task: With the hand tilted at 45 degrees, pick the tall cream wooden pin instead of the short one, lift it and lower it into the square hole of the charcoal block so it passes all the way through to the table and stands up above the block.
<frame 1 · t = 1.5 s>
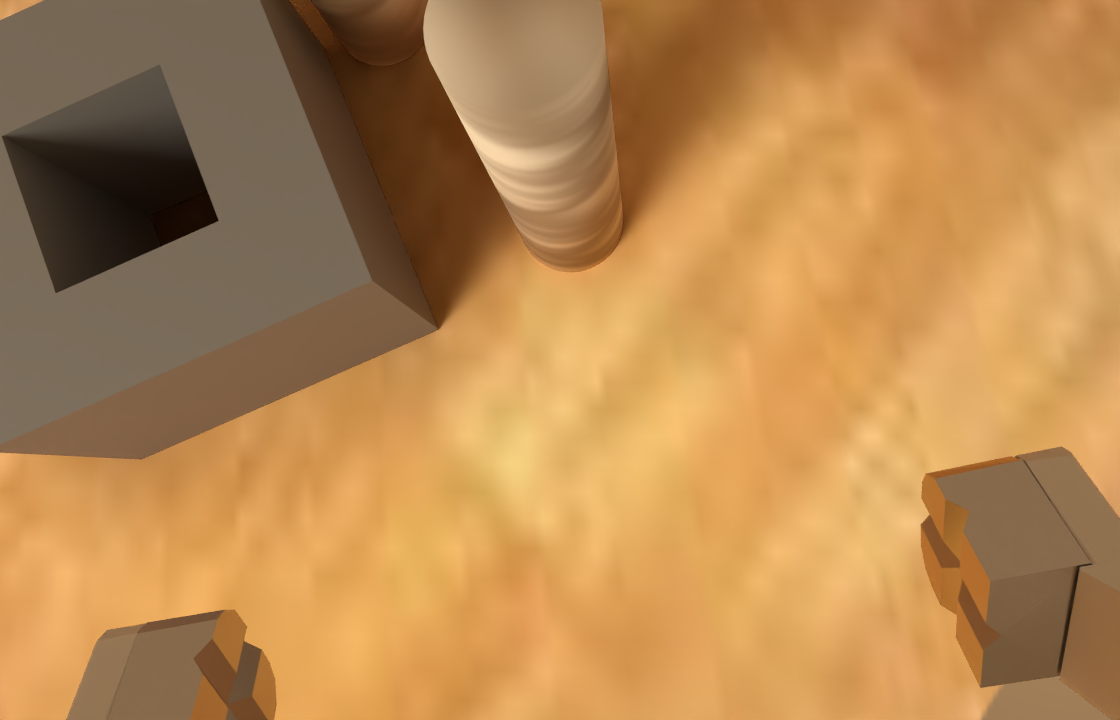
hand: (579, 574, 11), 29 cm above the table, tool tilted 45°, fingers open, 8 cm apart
tall pin: (571, 221, 41), on the table
hole block: (233, 248, 43), on the table
short pin: (384, 18, 43), on the table
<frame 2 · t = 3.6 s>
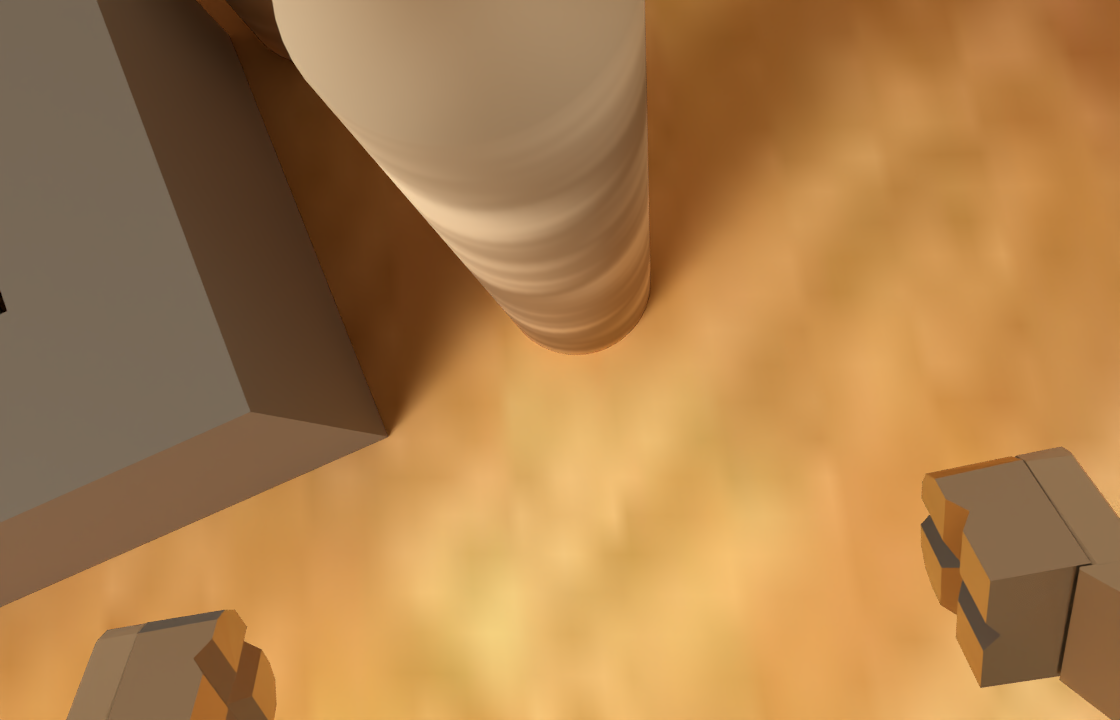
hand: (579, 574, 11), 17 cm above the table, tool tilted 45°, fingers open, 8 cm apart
tall pin: (576, 282, 29), on the table
hole block: (102, 320, 30), on the table
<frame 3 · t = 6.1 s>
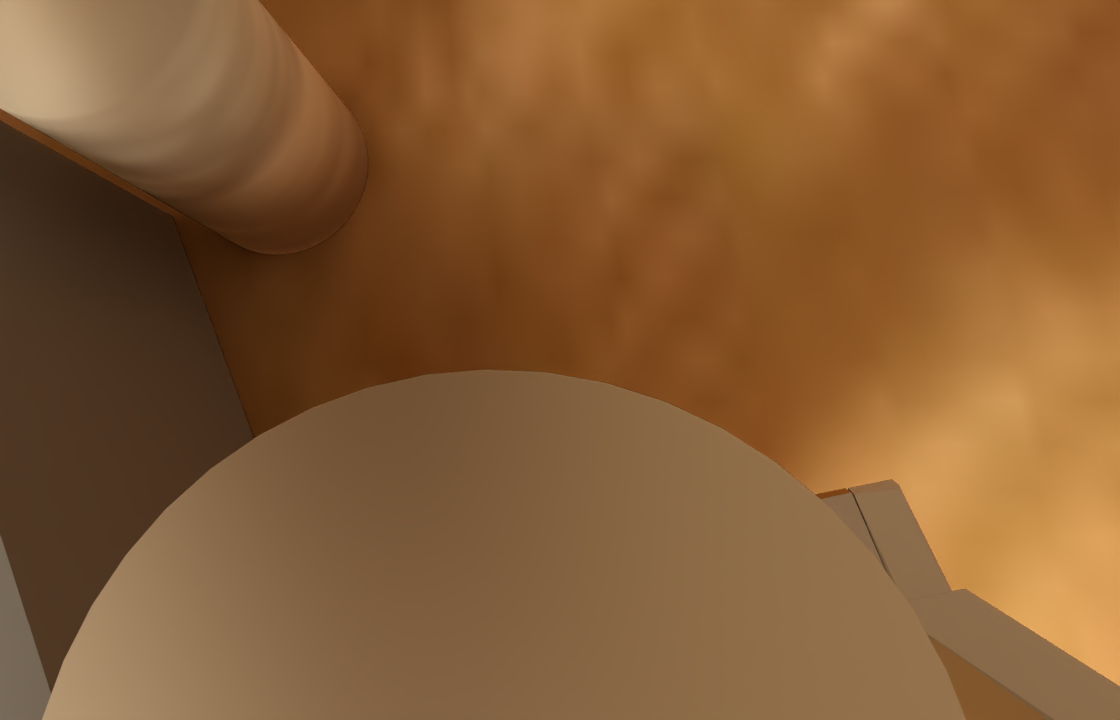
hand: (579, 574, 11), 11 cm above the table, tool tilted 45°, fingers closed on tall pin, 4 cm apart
tall pin: (622, 559, 22), on the table, touching gripper
hole block: (5, 591, 23), on the table
short pin: (281, 168, 24), on the table
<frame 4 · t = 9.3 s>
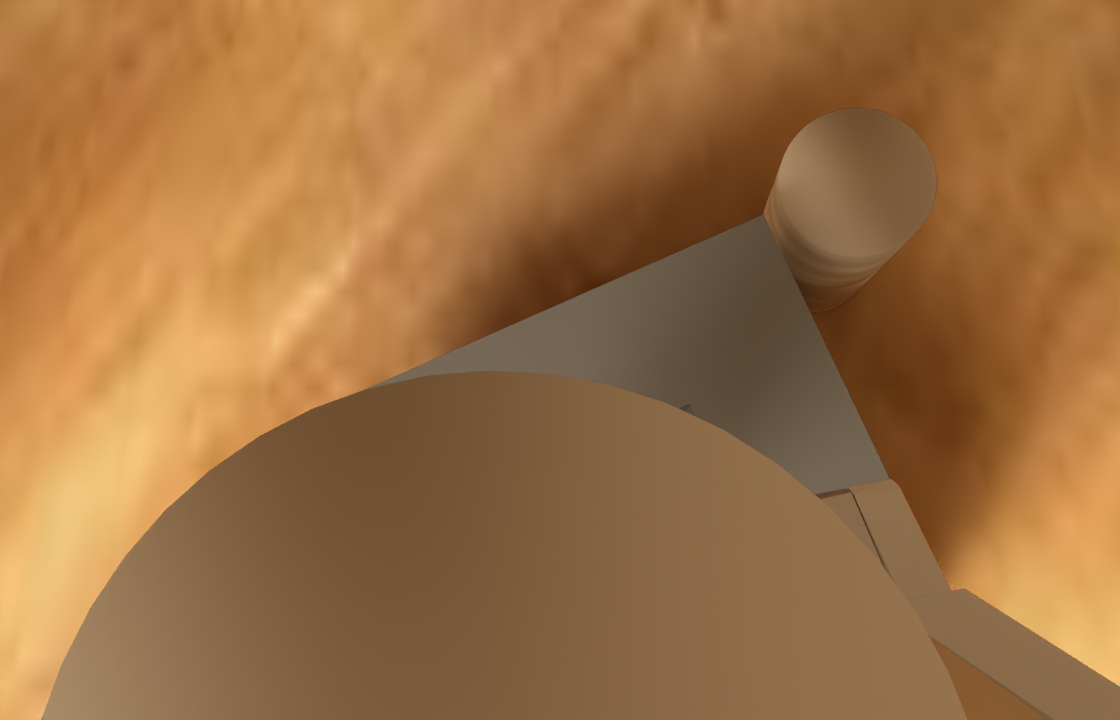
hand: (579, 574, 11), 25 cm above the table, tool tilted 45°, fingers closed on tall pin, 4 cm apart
tall pin: (622, 559, 22), point 14 cm above the table, touching gripper
hole block: (641, 532, 36), on the table
short pin: (810, 255, 37), on the table
when the fingers open (13 cm above the table, at t = 12.7 s): tall pin drops 2 cm, resting in hole block.
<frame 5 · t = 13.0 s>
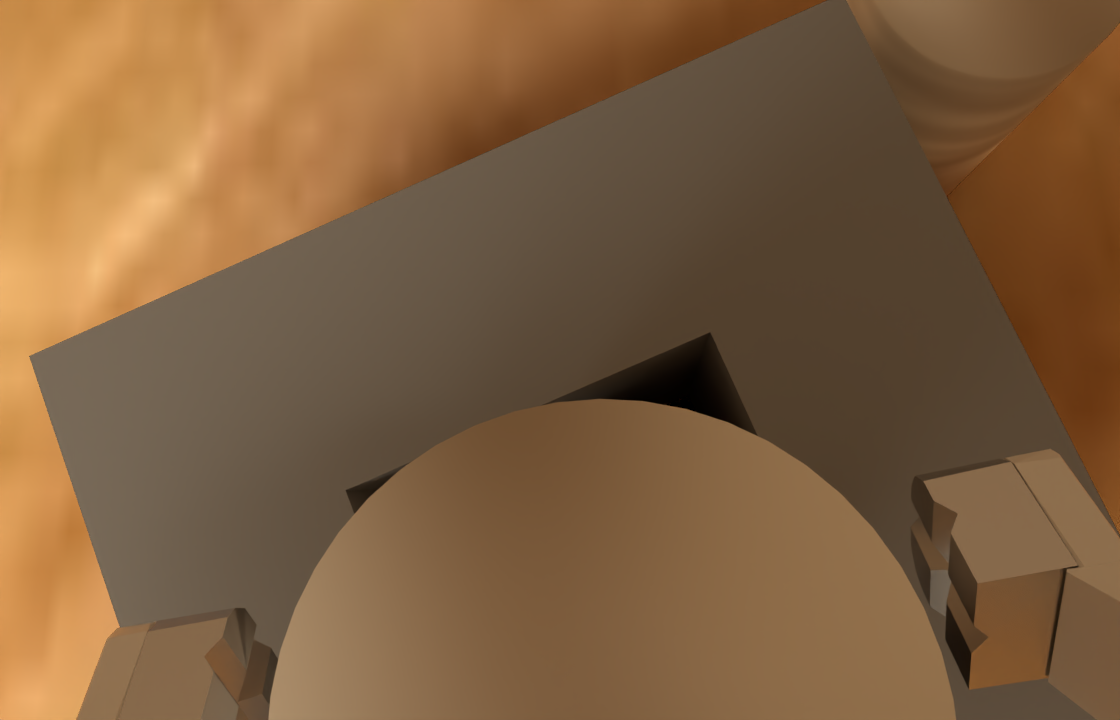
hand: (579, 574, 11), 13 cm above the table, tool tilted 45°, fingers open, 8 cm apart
tall pin: (623, 554, 24), resting in hole block
hole block: (626, 553, 24), on the table
short pin: (877, 141, 25), on the table
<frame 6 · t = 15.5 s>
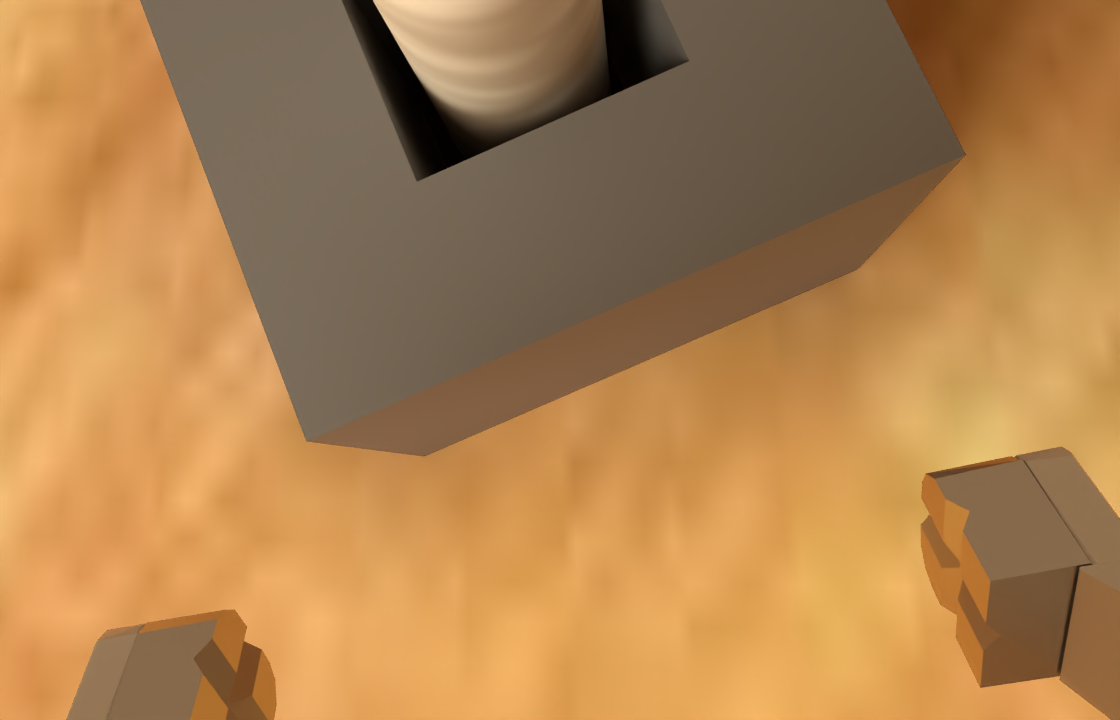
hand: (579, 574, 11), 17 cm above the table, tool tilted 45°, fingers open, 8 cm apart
tall pin: (545, 157, 30), resting in hole block
hole block: (548, 156, 30), on the table
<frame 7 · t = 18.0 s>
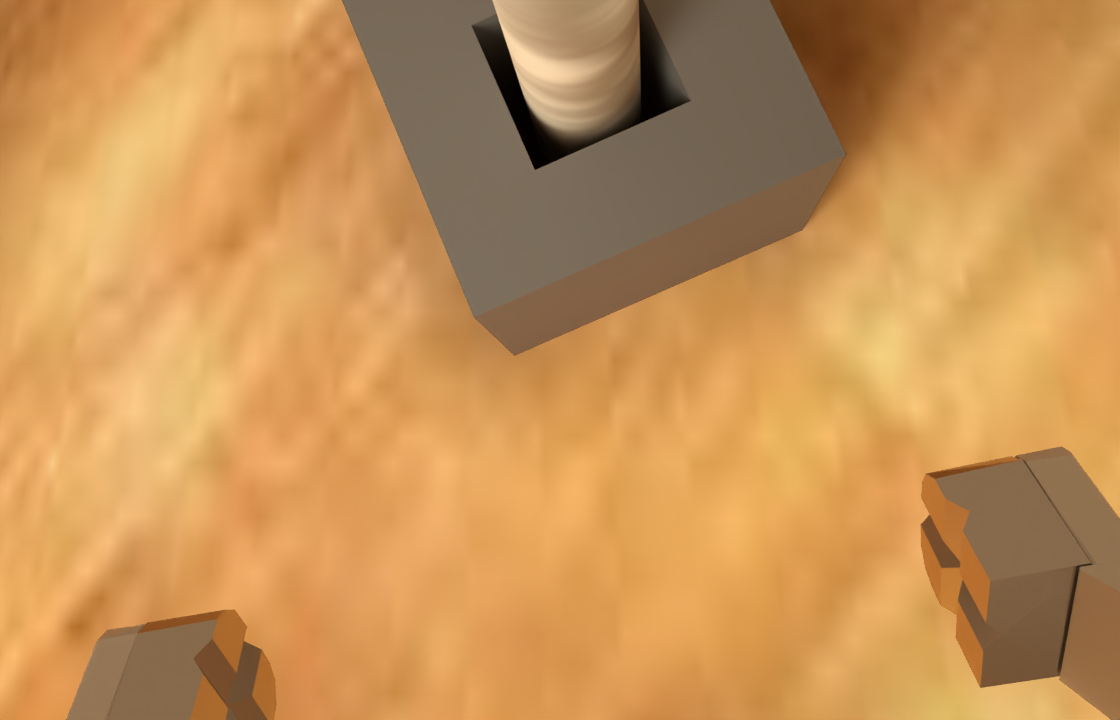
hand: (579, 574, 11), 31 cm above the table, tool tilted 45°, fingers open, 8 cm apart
tall pin: (594, 156, 45), resting in hole block
hole block: (595, 156, 45), on the table
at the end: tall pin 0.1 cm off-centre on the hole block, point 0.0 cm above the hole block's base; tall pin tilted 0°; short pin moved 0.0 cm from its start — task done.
